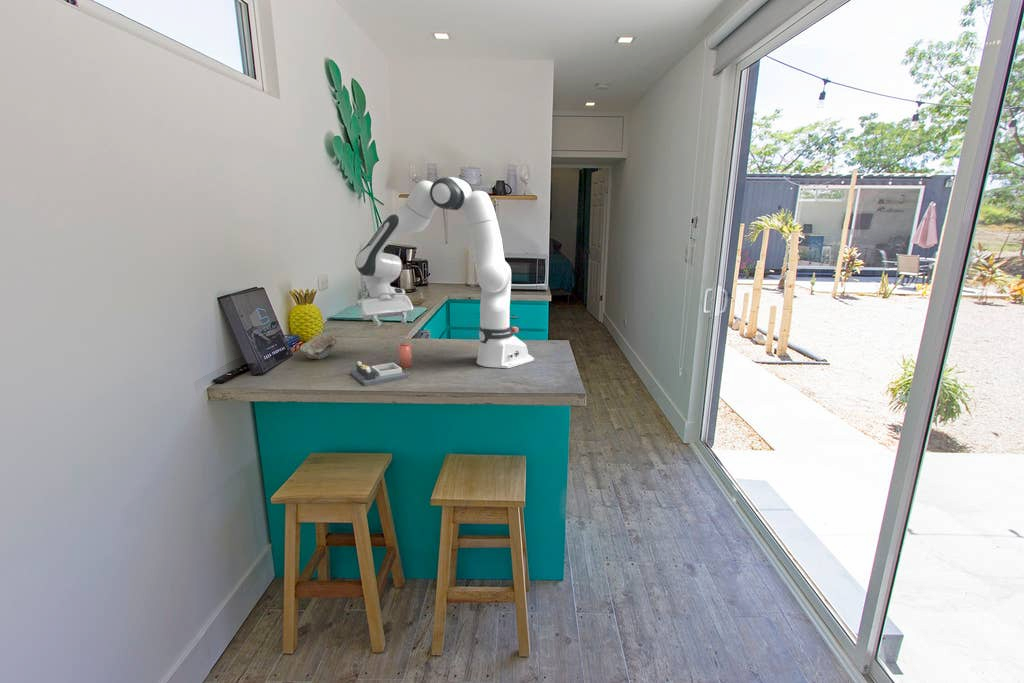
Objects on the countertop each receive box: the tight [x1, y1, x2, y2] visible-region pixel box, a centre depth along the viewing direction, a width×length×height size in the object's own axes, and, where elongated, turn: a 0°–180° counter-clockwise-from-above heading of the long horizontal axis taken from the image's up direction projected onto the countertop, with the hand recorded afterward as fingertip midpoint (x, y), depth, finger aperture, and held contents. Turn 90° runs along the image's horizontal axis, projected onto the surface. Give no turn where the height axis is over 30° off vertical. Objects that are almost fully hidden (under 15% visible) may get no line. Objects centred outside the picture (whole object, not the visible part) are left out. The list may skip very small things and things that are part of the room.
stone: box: [299, 331, 338, 360], centre depth 196 cm, size 11×14×10 cm
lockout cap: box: [397, 341, 413, 370], centre depth 186 cm, size 5×5×9 cm
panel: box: [350, 361, 408, 387], centre depth 176 cm, size 15×15×5 cm
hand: (392, 324), depth 192 cm, fingers open, 8 cm apart
